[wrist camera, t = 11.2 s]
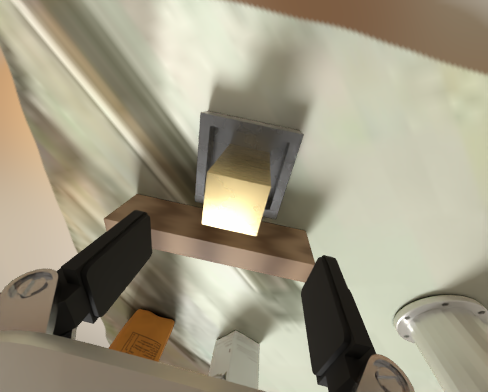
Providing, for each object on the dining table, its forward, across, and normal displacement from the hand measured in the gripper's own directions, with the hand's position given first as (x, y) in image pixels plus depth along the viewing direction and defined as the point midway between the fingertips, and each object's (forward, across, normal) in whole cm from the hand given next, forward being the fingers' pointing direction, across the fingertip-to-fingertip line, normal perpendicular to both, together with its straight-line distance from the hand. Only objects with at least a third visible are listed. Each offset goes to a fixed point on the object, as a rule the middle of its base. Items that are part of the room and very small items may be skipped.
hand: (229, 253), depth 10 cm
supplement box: (+15, -5, +40) cm, 43 cm away
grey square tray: (+14, +1, -1) cm, 14 cm away
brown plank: (+14, +3, +8) cm, 17 cm away
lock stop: (+13, +1, 0) cm, 13 cm away
